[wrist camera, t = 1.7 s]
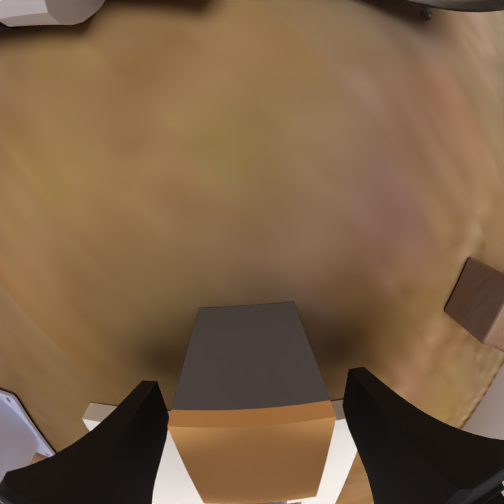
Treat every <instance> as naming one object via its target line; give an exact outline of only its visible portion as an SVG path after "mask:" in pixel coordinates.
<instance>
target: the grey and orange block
mask: <svg viewBox="0 0 504 504" xmlns="http://www.w3.org/2000/svg"><path fill="white" fill-rule="evenodd" d="M335 420H336V414H335V411H334V409H333V406H332V403H331V400H330V398H329V395H328V392H327V389H326V387H325V384H324V381H323V379H322V376H321V373H320V370H319V368H318V365H317V362H316V360H315V357H314V354H313V352H312V349H311V346H310V344H309V341H308V339H307V336H306V333H305V331H304V328H303V325H302V323H301V320H300V318H299V315H298V312H297V310H296V307H295V305H294V302H283V303H270V304H257V305H242V306H225V307H205V308H199V311H198V314H197V318H196V321H195V325H194V328H193V332H192V335H191V339H190V342H189V346H188V349H187V353H186V357H185V360H184V364H183V368H182V371H181V375H180V379H179V382H178V386H177V390H176V394H175V398H174V402H173V406H172V409H171V413H170V417H169V421H168V425H167V427H168V429H169V432H170V434H171V436H172V439H173V441H174V444H175V446H176V448H177V450H178V453H179V455H180V457H181V459H182V461H183V464H184V466H185V468H186V470H187V472H188V474H189V476H190V478H191V480H192V482H193V484H194V486H195V488H196V490H197V492H198V494H199V495H200V497H201V499H202V501H203V503H206V504H252V503H269V502H280V501H289V500H297V499H304V498H311V497H316V496H317V492H318V489H319V485H320V482H321V478H322V475H323V471H324V467H325V464H326V460H327V456H328V451H329V447H330V443H331V439H332V434H333V430H334V425H335Z"/></svg>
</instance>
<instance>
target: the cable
mask: <svg viewBox="0 0 504 504" xmlns="http://www.w3.org/2000/svg"><path fill="white" fill-rule="evenodd" d="M104 2H105V0H0V30H11V29H17V28H20V27H24V26H28V25H74V24H77V23H81V22H83V21H85V20H86V19H88V18H89V17H90V16H92V15H93V14H94V13H96V12H97V11H98V10H99V9H100V8H101V6H102V5H103V3H104Z"/></svg>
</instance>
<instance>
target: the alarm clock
mask: <svg viewBox="0 0 504 504" xmlns="http://www.w3.org/2000/svg"><path fill="white" fill-rule="evenodd" d="M402 1H405V2H409V3H413V4H417V5H420V7H421V17H422V18H423V19H425V20H430V19H431V18H432V13H431V12H430V7H432V8H437V9H444V10H452V11H461V12H491V11H501V10H504V0H402Z"/></svg>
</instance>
